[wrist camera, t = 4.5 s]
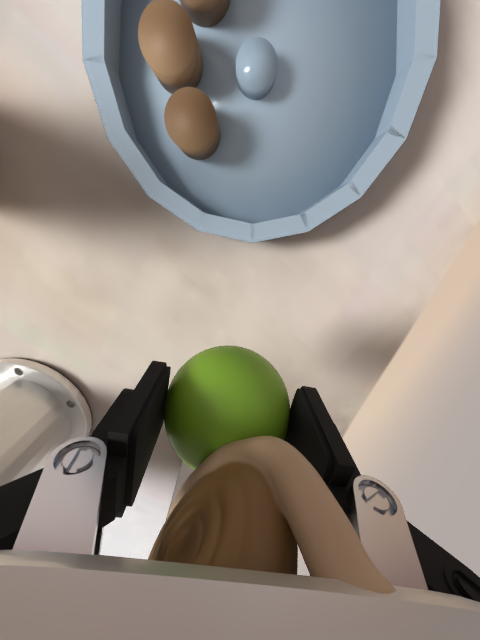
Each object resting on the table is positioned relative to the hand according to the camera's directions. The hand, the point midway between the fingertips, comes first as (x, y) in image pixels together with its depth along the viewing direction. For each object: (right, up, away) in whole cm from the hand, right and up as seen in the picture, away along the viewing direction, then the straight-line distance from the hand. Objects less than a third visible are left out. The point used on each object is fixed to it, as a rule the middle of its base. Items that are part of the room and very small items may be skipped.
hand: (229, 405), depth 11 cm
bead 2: (-3, +19, +5) cm, 20 cm away
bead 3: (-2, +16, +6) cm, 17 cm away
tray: (+1, +19, +6) cm, 20 cm away
